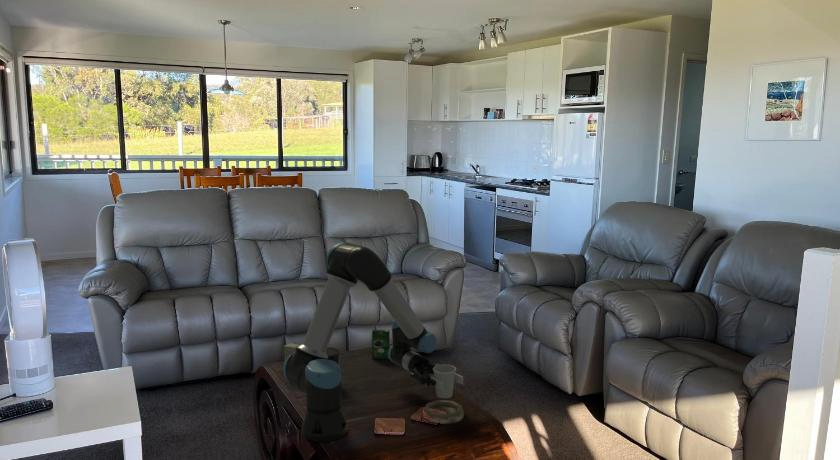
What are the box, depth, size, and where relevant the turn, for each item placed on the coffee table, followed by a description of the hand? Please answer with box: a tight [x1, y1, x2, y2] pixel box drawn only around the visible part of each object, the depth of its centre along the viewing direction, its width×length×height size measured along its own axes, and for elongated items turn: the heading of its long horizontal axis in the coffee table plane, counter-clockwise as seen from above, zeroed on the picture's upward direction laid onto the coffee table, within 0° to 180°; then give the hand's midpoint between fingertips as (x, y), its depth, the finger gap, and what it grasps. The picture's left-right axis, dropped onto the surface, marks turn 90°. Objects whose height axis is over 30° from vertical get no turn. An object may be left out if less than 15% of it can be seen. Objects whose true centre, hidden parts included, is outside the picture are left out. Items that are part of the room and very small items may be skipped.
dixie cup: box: [433, 363, 457, 399], centre depth 214 cm, size 8×8×10 cm
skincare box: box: [283, 342, 299, 361], centre depth 253 cm, size 6×4×12 cm
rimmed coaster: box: [423, 399, 465, 425], centre depth 215 cm, size 15×15×2 cm
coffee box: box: [371, 328, 391, 360], centre depth 271 cm, size 8×3×13 cm, turn 88°
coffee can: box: [326, 347, 341, 367], centre depth 240 cm, size 10×10×14 cm
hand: (452, 383), depth 210 cm, fingers closed on dixie cup, 8 cm apart
